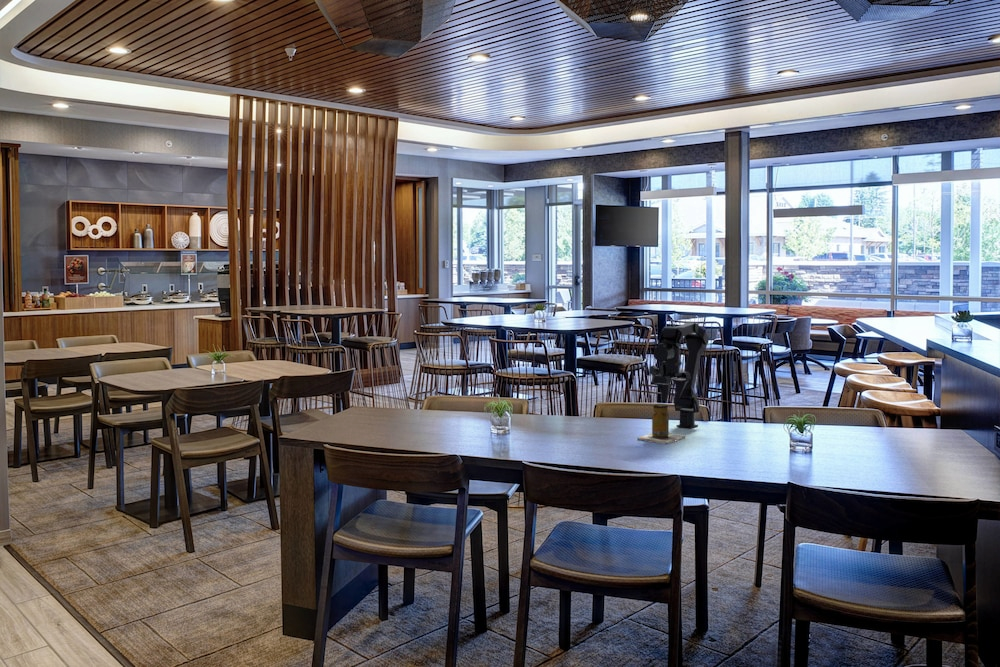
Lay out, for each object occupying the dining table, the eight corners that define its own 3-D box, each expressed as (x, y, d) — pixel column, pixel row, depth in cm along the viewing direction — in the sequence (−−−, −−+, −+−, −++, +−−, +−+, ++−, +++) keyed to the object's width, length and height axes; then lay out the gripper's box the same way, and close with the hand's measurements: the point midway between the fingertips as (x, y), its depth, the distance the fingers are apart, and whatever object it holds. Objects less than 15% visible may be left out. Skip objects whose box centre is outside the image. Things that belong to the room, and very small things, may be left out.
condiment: (659, 434, 301) (659, 403, 300) (677, 437, 295) (677, 405, 294) (646, 437, 297) (646, 405, 296) (665, 440, 290) (665, 408, 289)
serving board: (657, 433, 306) (657, 431, 306) (685, 438, 298) (685, 435, 298) (637, 439, 296) (637, 437, 296) (665, 444, 288) (665, 442, 287)
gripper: (666, 356, 318) (666, 394, 319) (640, 360, 304) (640, 400, 305) (691, 357, 310) (691, 397, 311) (665, 362, 296) (665, 403, 298)
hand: (671, 399), depth 306 cm, fingers open, 9 cm apart
